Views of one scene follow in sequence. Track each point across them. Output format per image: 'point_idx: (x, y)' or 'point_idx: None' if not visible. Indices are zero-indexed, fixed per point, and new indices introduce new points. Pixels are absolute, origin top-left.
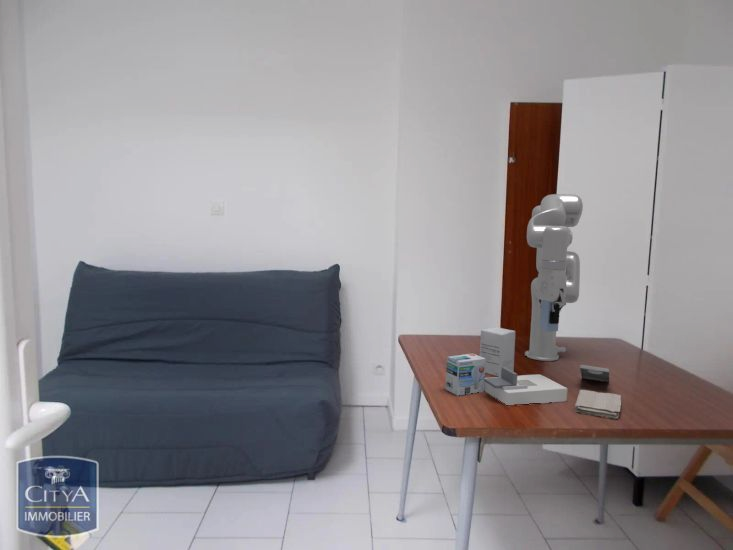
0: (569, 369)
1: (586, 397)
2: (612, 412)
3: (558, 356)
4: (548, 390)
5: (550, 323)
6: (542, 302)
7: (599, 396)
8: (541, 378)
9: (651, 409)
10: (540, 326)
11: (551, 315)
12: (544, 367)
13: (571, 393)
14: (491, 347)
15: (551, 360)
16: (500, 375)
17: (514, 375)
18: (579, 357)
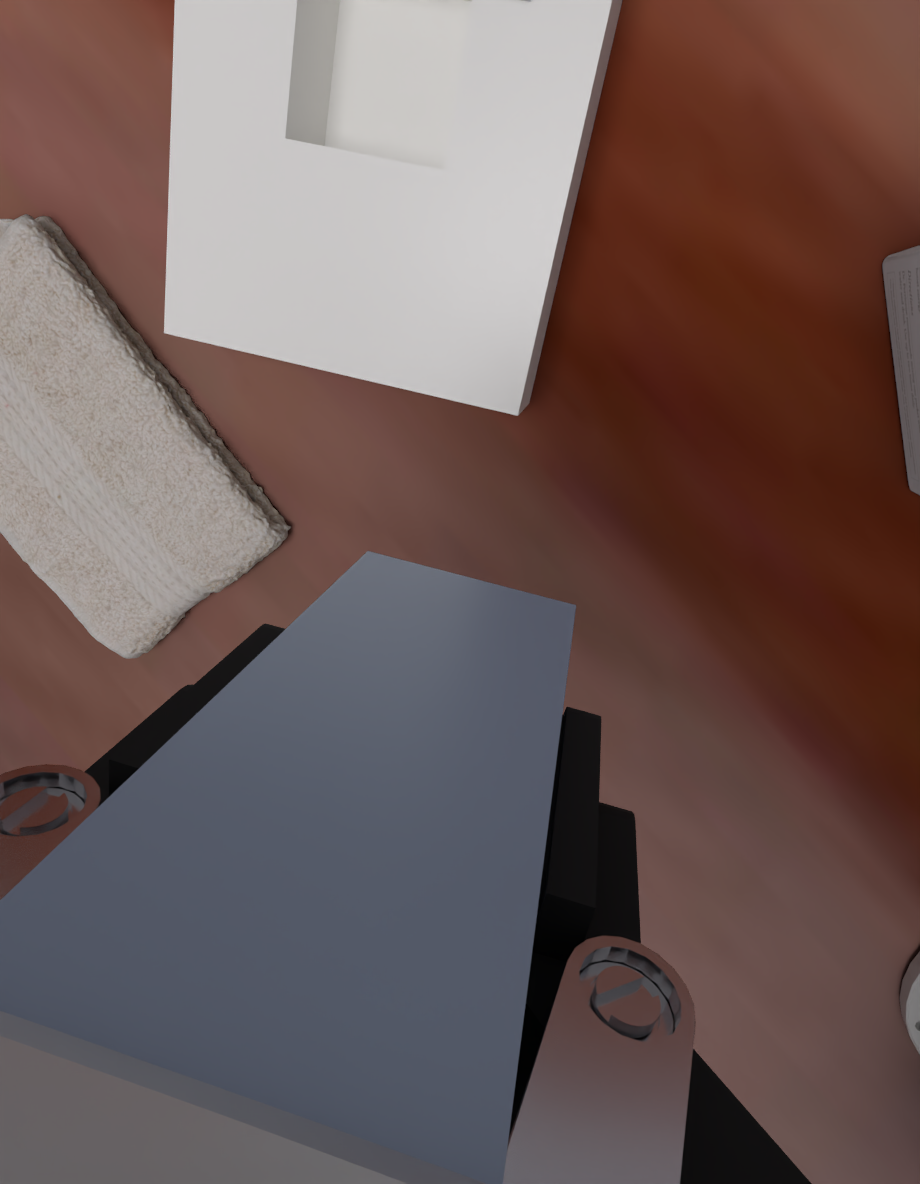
0: (698, 899)
1: (107, 409)
2: None
3: (918, 1050)
4: (172, 139)
5: (268, 628)
6: (443, 1053)
7: (106, 507)
8: (421, 330)
9: (14, 671)
10: (556, 619)
11: (173, 721)
12: (836, 804)
13: (325, 497)
14: None
15: (911, 964)
16: (888, 260)
17: None
18: (847, 1154)
